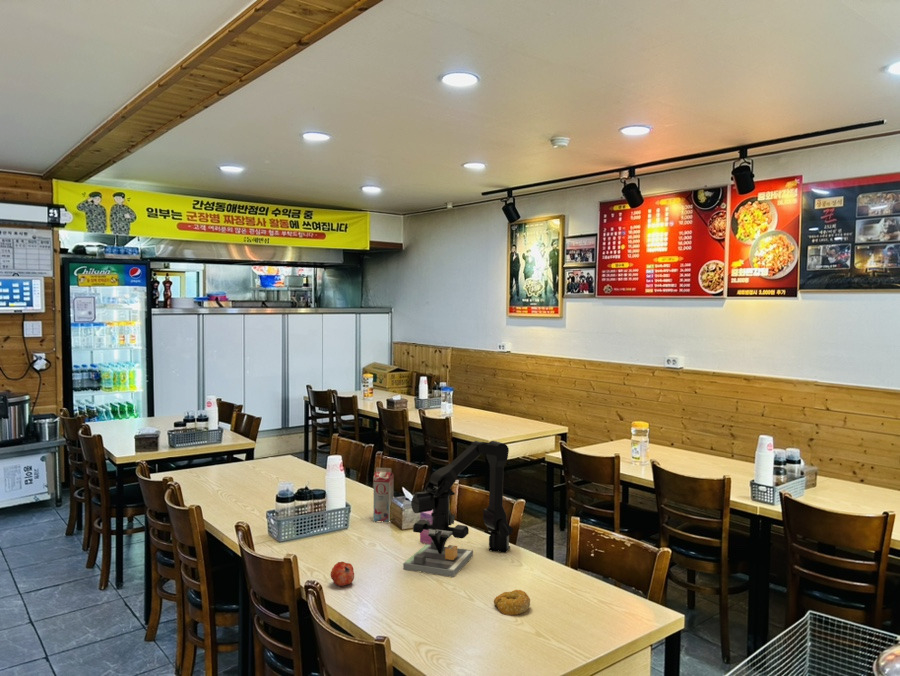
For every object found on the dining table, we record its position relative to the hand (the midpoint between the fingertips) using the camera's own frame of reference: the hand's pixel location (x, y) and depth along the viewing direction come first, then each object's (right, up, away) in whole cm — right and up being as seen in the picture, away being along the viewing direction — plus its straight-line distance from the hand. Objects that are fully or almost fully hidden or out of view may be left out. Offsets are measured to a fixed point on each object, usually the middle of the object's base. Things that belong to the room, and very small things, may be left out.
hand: (440, 553), depth 221 cm
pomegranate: (-31, -4, -18) cm, 36 cm away
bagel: (+21, -5, -34) cm, 40 cm away
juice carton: (-25, -2, +47) cm, 53 cm away
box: (-3, -3, +23) cm, 23 cm away
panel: (0, -3, 0) cm, 3 cm away
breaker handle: (+4, -1, -1) cm, 4 cm away
